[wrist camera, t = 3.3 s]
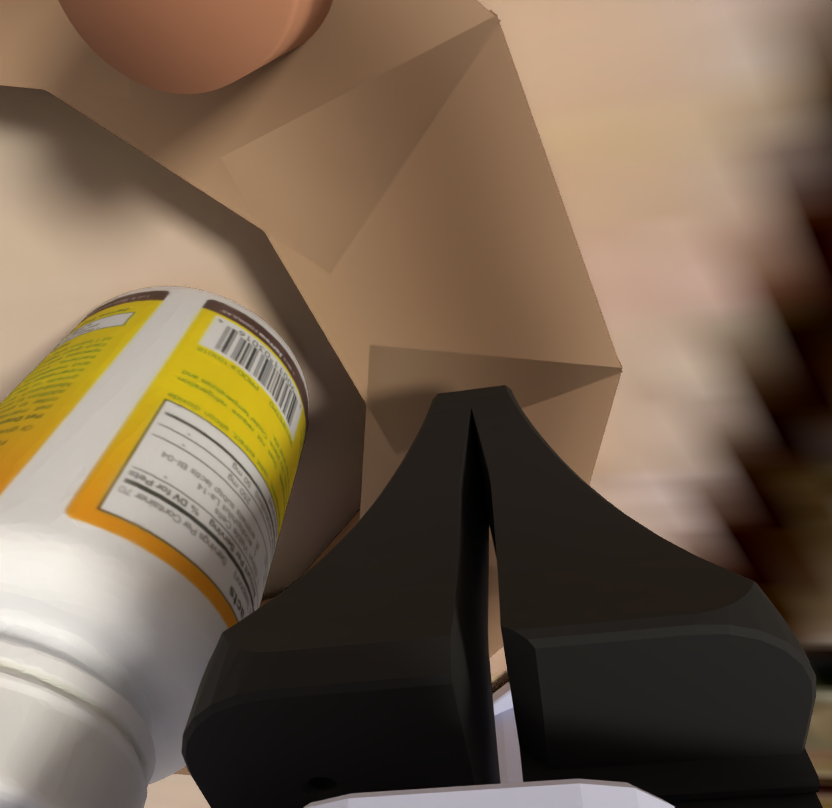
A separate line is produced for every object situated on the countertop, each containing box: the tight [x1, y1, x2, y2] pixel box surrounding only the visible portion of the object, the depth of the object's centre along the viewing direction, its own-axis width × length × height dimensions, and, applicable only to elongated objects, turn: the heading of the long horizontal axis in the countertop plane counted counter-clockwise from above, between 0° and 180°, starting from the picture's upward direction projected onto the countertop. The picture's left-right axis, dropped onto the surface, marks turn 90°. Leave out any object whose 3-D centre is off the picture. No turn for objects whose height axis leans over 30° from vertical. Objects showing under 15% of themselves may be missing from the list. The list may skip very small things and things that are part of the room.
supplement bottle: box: [0, 286, 309, 808], centre depth 12 cm, size 6×6×10 cm
